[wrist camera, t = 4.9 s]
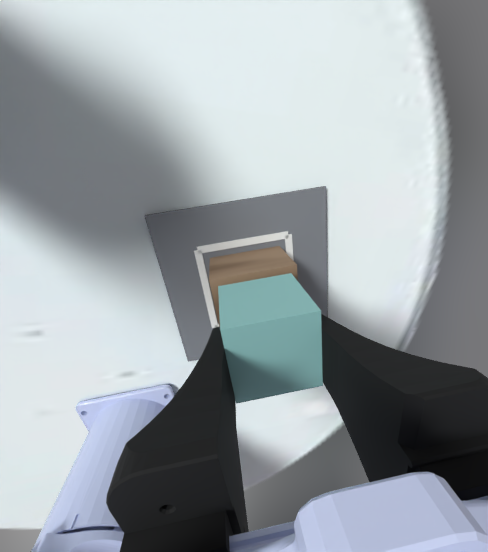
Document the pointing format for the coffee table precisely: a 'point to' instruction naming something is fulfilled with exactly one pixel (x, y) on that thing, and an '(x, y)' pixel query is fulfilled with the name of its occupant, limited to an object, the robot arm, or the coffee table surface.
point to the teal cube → (270, 337)
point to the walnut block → (248, 268)
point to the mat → (236, 251)
